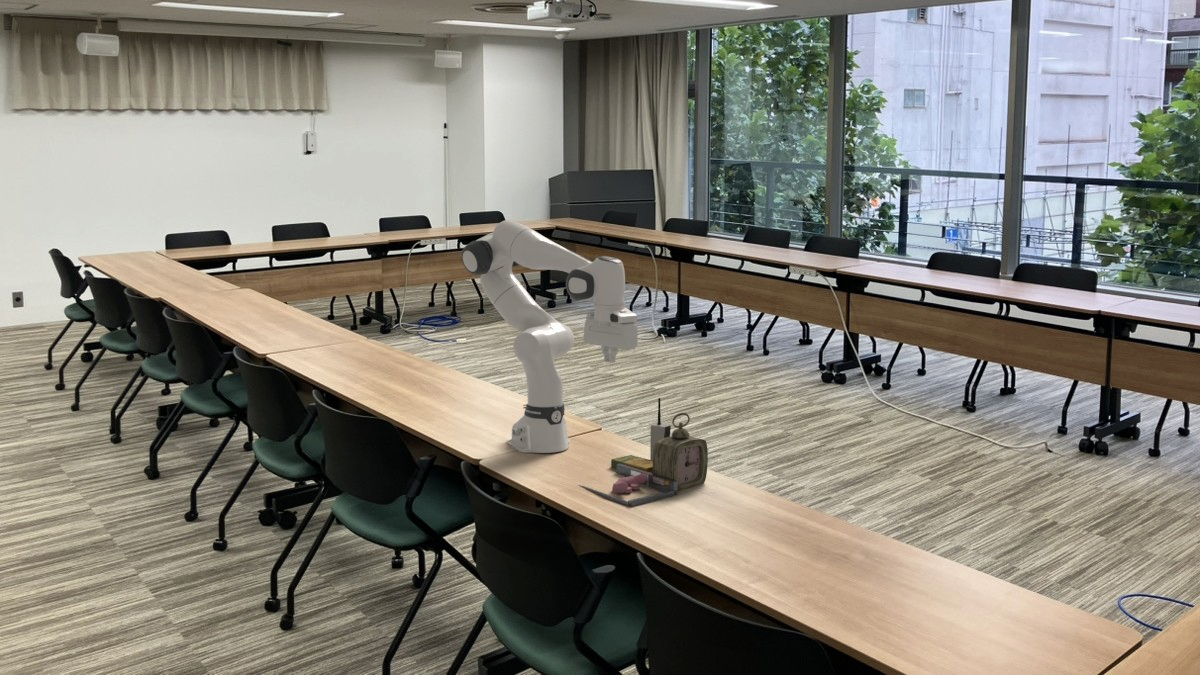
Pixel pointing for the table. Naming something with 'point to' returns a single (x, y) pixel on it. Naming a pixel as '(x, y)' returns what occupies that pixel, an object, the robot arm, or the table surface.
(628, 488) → the purple lumpy piece
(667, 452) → the tabletop clock
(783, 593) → the table surface
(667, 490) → the dock panel
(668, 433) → the vintage mobile phone
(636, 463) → the carton
